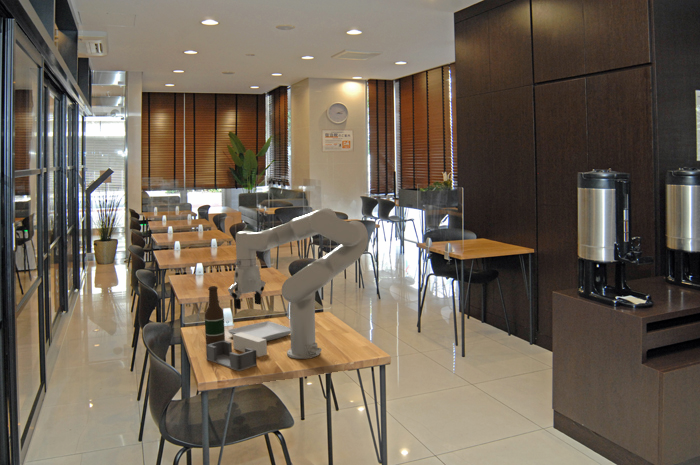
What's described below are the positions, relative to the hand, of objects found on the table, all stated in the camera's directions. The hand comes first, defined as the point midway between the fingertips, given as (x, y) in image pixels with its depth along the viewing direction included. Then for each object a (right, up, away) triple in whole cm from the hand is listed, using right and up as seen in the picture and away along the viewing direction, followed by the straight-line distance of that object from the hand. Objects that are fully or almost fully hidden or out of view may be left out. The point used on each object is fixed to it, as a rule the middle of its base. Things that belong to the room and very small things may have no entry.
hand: (247, 306), depth 216 cm
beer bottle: (-16, -17, +12) cm, 26 cm away
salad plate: (+2, -16, +22) cm, 28 cm away
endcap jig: (-4, -19, -11) cm, 22 cm away
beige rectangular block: (0, -18, +2) cm, 18 cm away
